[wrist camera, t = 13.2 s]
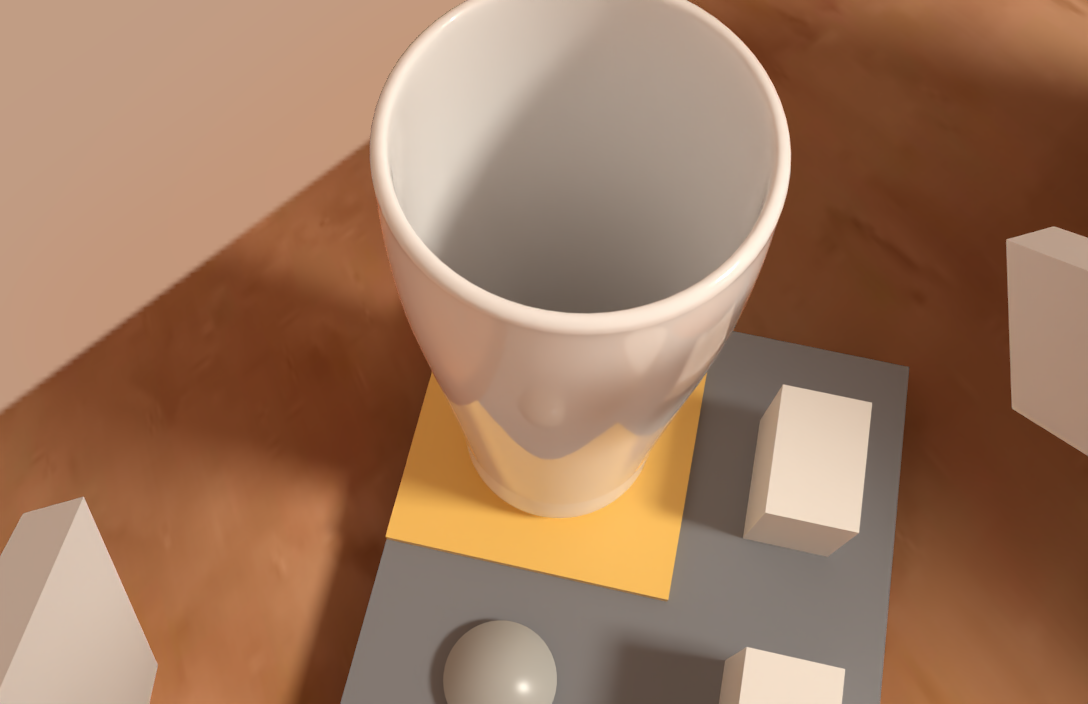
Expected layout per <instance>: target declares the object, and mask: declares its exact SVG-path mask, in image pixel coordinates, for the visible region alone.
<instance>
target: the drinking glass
mask: <svg viewBox="0 0 1088 704" xmlns="http://www.w3.org/2000/svg"><path fill="white" fill-rule="evenodd" d="M370 167H371V175H372V182H373V186H374V190H375V196H376V203H377V209H378V215H379V221H380V226H381V231H382V236H383V240H384V244H385V249H386V253H387V257H388V261H389V265H390V269H391V273H392V276H393V280H394V283H395V286H396V290H397V293H398V295H399V298H400V301H401V304H402V307H403V309H404V312H405V315H406V318H407V320H408V323H409V325H410V327H411V330H412V332H413V334H414V336H415V338H416V341H417V343H418V345H419V347H420V349H421V351H422V353H423V355H424V357H425V359H426V361H427V363H428V365H429V367H430V369H431V371H432V373H433V375H434V377H435V379H436V381H437V383H438V384H439V386H440V388H441V390H442V392H443V394H444V396H445V398H446V400H447V402H448V404H449V406H450V408H451V410H452V412H453V414H454V416H455V418H456V420H457V422H458V424H459V426H460V428H461V430H462V433H463V435H464V437H465V441H466V445H467V449H468V453H469V455H470V458H471V461H472V463H473V465H474V467H475V469H476V471H477V472H478V474H479V476H480V477H481V479H482V480H483V481H484V482H485V484H486V485H487V486H488V487H489V488H490V489H491V490H492V491H493V492H494V493H495V494H496V495H497V496H498V497H500V498H501V499H502V500H504V501H505V502H507V503H508V504H510V505H511V506H513V507H515V508H517V509H519V510H522V511H524V512H527V513H530V514H533V515H537V516H541V517H548V518H572V517H578V516H582V515H586V514H589V513H592V512H595V511H597V510H600V509H602V508H604V507H606V506H607V505H609V504H610V503H612V502H614V501H615V500H616V499H618V498H619V497H620V496H622V495H623V494H624V493H625V492H626V491H627V490H628V489H629V488H630V487H631V485H632V484H633V483H634V482H635V480H636V479H637V478H638V476H639V475H640V473H641V471H642V469H643V468H644V466H645V464H646V461H647V459H648V457H649V454H650V452H651V450H652V449H653V447H654V446H655V444H656V443H657V441H658V440H659V438H660V437H661V435H662V434H663V433H664V431H665V430H666V428H667V427H668V426H669V424H670V423H671V421H672V420H673V419H674V417H675V416H676V414H677V413H678V412H679V410H680V409H681V408H682V406H683V405H684V404H685V402H686V401H687V399H688V398H689V397H690V395H691V394H692V393H693V391H694V390H695V388H696V387H697V386H698V384H699V383H700V382H701V380H702V379H703V377H704V376H705V374H706V373H707V371H708V370H709V369H710V367H711V366H712V364H713V363H714V361H715V360H716V358H717V357H718V356H719V354H720V352H721V351H722V349H723V347H724V346H725V344H726V342H727V341H728V339H729V337H730V335H731V333H732V331H733V330H734V328H735V326H736V324H737V322H738V320H739V319H740V317H741V315H742V313H743V311H744V309H745V306H746V304H747V302H748V300H749V298H750V295H751V293H752V291H753V288H754V286H755V283H756V281H757V279H758V276H759V274H760V271H761V269H762V266H763V264H764V261H765V258H766V256H767V253H768V250H769V247H770V244H771V241H772V238H773V235H774V232H775V229H776V226H777V223H778V220H779V217H780V215H781V212H782V210H783V206H784V203H785V199H786V196H787V192H788V186H789V180H790V173H791V146H790V135H789V130H788V125H787V120H786V116H785V113H784V110H783V107H782V103H781V101H780V98H779V96H778V94H777V92H776V89H775V87H774V85H773V83H772V81H771V80H770V78H769V76H768V74H767V73H766V71H765V69H764V68H763V66H762V65H761V64H760V62H759V61H758V59H757V58H756V56H755V55H754V54H753V53H752V52H751V51H750V49H749V48H748V47H747V46H746V45H745V44H744V42H743V41H742V40H741V39H740V38H738V37H737V36H736V35H735V34H734V33H733V32H732V31H731V30H730V29H729V28H728V27H726V26H725V25H724V24H723V23H721V22H720V21H719V20H718V19H716V18H715V17H714V16H712V15H711V14H709V13H708V12H706V11H705V10H703V9H702V8H700V7H698V6H696V5H695V4H693V3H691V2H689V1H687V0H466V1H464V2H463V3H461V4H460V5H458V6H456V7H455V8H453V9H451V10H449V11H448V12H447V13H445V14H444V15H443V16H441V17H440V18H438V19H437V20H436V21H434V22H433V23H432V24H431V25H430V26H429V27H428V28H427V29H425V30H424V31H423V32H422V33H421V34H420V35H419V36H418V37H417V38H416V39H415V41H413V42H412V44H410V46H409V47H408V48H407V49H406V51H405V52H404V53H403V55H402V56H401V57H400V59H399V60H398V61H397V63H396V65H395V66H394V68H393V70H392V71H391V73H390V74H389V77H388V78H387V81H386V83H385V85H384V87H383V89H382V91H381V94H380V97H379V100H378V103H377V105H376V109H375V113H374V117H373V122H372V127H371V136H370Z"/></svg>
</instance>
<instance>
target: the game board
mask: <svg viewBox="0 0 1088 704" xmlns="http://www.w3.org/2000/svg"><path fill="white" fill-rule="evenodd" d="M908 377H909V367H907V366H902V365H897V364H892V363H888V362H883V361H878V360H873V359H868V358H863V357H858V356H853V355H848V354H843V353H838V352H833V351H829V350H824V349H819V348H814V347H809V346H804V345H799V344H794V343H789V342H784V341H779V340H774V339H770V338H765V337H760V336H755V335H750V334H745V333H740V332H735V331H732V333H731V335H730V337H729V339H728V341H727V342H726V344H725V346H724V347H723V349H722V351H721V352H720V354H719V356H718V357H717V358H716V360H715V361H714V363H713V364H712V366H711V367H710V369H709V370H708V371H707V373H706V374H705V376H704V377H703V379H702V380H701V382H700V383H699V384H698V386H697V387H696V388H695V390H694V391H693V393H692V394H691V395H690V397H689V398H688V399H687V401H686V402H685V404H684V405H683V406H682V408H681V409H680V410H679V412H678V413H677V414H676V416H675V417H674V419H673V420H672V421H671V423H670V424H669V426H668V427H667V428H666V430H665V431H664V433H663V434H662V435H661V437H660V438H659V440H658V441H657V443H656V444H655V446H654V447H653V449H652V450H651V452H650V454H649V457H648V459H647V461H646V464H645V466H644V468H643V469H642V471H641V473H640V475H639V476H638V478H637V479H636V480H635V482H634V483H633V484H632V485H631V487H630V488H629V489H628V490H627V491H626V492H625V493H624V494H623V495H622V496H620V497H619V498H618V499H616V500H615V501H614V502H612V503H610V504H609V505H607V506H606V507H604V508H602V509H600V510H597V511H595V512H592V513H589V514H586V515H582V516H578V517H572V518H548V517H541V516H537V515H533V514H530V513H527V512H524V511H522V510H519V509H517V508H515V507H513V506H511V505H510V504H508V503H507V502H505V501H504V500H502V499H501V498H500V497H498V496H497V495H496V494H495V493H494V492H493V491H492V490H491V489H490V488H489V487H488V486H487V485H486V484H485V482H484V481H483V480H482V479H481V477H480V476H479V474H478V472H477V471H476V469H475V467H474V465H473V463H472V461H471V458H470V455H469V453H468V449H467V445H466V441H465V437H464V435H463V433H462V430H461V428H460V426H459V424H458V422H457V420H456V418H455V416H454V414H453V412H452V410H451V408H450V406H449V404H448V402H447V400H446V398H445V396H444V394H443V392H442V390H441V388H440V386H439V384H438V383H437V381H436V379H435V377H434V375H433V373H431V377H430V380H429V384H428V387H427V391H426V394H425V398H424V402H423V405H422V409H421V412H420V416H419V419H418V423H417V426H416V430H415V433H414V437H413V440H412V444H411V448H410V451H409V455H408V458H407V462H406V465H405V469H404V472H403V476H402V479H401V483H400V486H399V490H398V494H397V497H396V501H395V504H394V508H393V511H392V515H391V518H390V522H389V525H388V529H387V532H386V536H385V537H386V539H387V540H386V543H385V547H384V550H383V554H382V557H381V561H380V565H379V568H378V572H377V575H376V579H375V582H374V586H373V589H372V593H371V596H370V600H369V604H368V607H367V611H366V614H365V618H364V621H363V625H362V628H361V632H360V636H359V639H358V643H357V646H356V650H355V653H354V657H353V660H352V664H351V667H350V671H349V675H348V678H347V682H346V685H345V689H344V692H343V696H342V699H341V703H340V704H880V697H881V686H882V674H883V663H884V651H885V640H886V629H887V617H888V606H889V594H890V583H891V571H892V560H893V548H894V537H895V525H896V514H897V503H898V491H899V480H900V468H901V457H902V445H903V434H904V422H905V411H906V399H907V388H908Z"/></svg>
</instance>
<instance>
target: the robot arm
mask: <svg viewBox="0 0 1088 704" xmlns="http://www.w3.org/2000/svg"><path fill="white" fill-rule="evenodd" d="M1006 252H1007V281H1008V311H1009V341H1010V370H1011V400H1012V409H1013V410H1015V411H1016V412H1018V413H1020V414H1021V415H1023V416H1024V417H1026V418H1028V419H1029V420H1031V421H1032V422H1034V423H1036V424H1037V425H1039V426H1041V427H1042V428H1044V429H1045V430H1047V431H1049V432H1050V433H1052V434H1053V435H1055V436H1057V437H1058V438H1060V439H1061V440H1063V441H1065V442H1066V443H1068V444H1069V445H1071V446H1073V447H1074V448H1076V449H1077V450H1079V451H1081V452H1082V453H1084V454H1086V455H1087V456H1088V238H1087V237H1084V236H1081V235H1078V234H1075V233H1072V232H1070V231H1067V230H1064V229H1061V228H1058V227H1055V226H1053V227H1049V228H1046V229H1042V230H1038V231H1035V232H1031V233H1028V234H1024V235H1020V236H1017V237H1013V238H1010V239H1006ZM157 667H158V665H157V662H156V660H155V658H154V656H153V653H152V651H151V649H150V646H149V644H148V642H147V640H146V637H145V635H144V633H143V630H142V628H141V626H140V624H139V621H138V619H137V617H136V615H135V612H134V610H133V608H132V605H131V603H130V601H129V599H128V596H127V594H126V592H125V589H124V587H123V585H122V583H121V580H120V578H119V576H118V574H117V571H116V569H115V567H114V564H113V562H112V560H111V558H110V555H109V553H108V551H107V549H106V546H105V544H104V542H103V539H102V537H101V535H100V533H99V530H98V528H97V526H96V523H95V521H94V519H93V517H92V514H91V512H90V510H89V508H88V505H87V503H86V501H85V498H84V497H80V498H77V499H73V500H70V501H66V502H62V503H59V504H55V505H52V506H48V507H44V508H41V509H37V510H34V511H30V512H27V513H23V515H22V516H21V518H20V520H19V522H18V524H17V526H16V528H15V529H14V531H13V533H12V535H11V537H10V539H9V541H8V543H7V544H6V546H5V548H4V550H3V552H2V554H1V556H0V704H149V703H150V698H151V694H152V689H153V685H154V680H155V676H156V671H157Z"/></svg>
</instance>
